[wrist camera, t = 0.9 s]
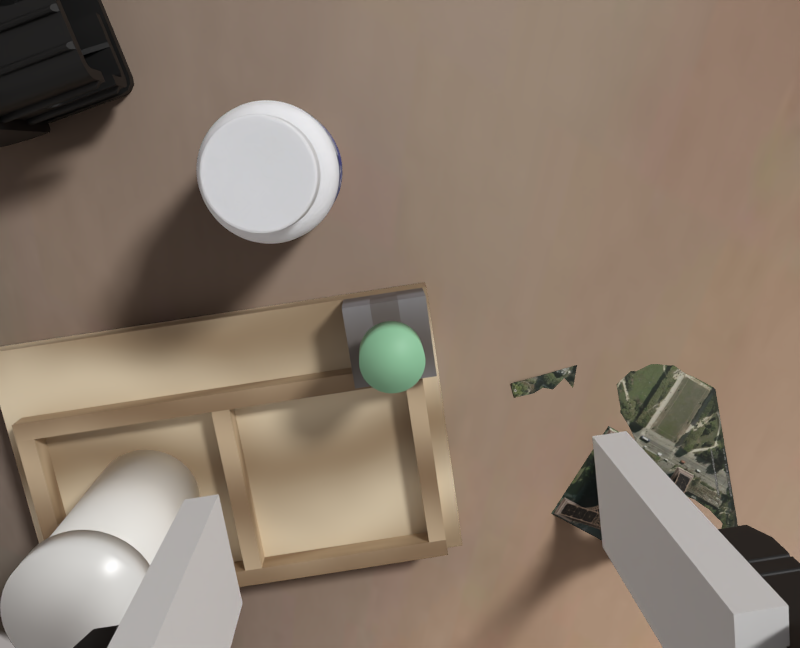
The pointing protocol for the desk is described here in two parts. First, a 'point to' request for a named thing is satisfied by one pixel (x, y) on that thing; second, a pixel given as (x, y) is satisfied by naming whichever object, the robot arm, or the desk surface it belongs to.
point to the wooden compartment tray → (249, 429)
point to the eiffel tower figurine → (656, 440)
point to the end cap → (55, 64)
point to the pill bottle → (269, 171)
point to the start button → (391, 357)
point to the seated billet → (96, 553)
